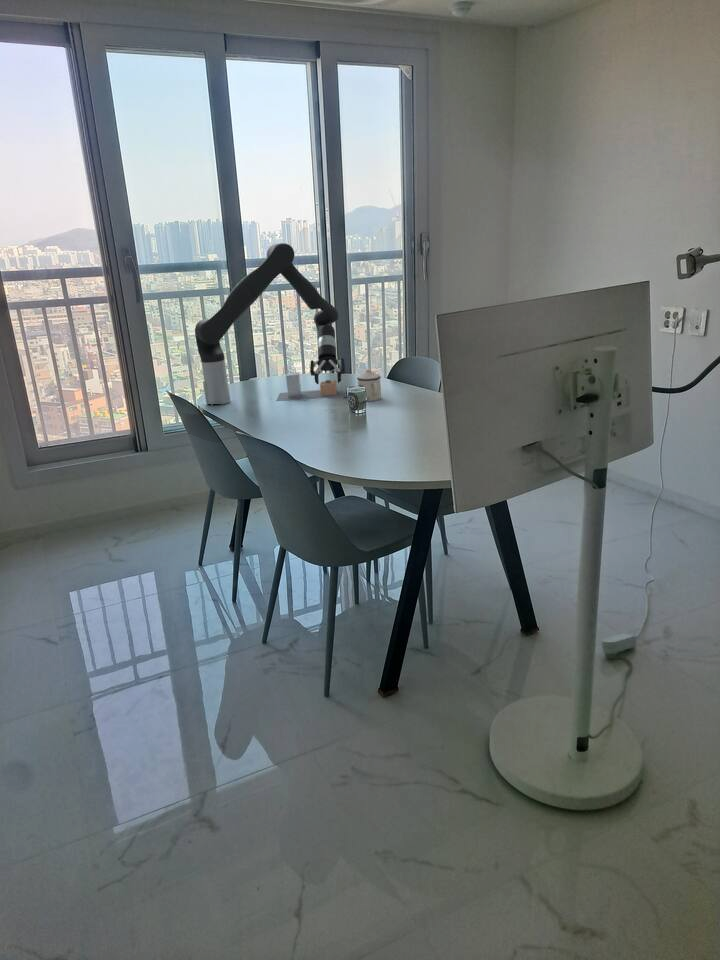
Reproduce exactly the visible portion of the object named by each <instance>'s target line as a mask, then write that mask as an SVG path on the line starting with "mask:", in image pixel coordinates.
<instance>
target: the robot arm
mask: <svg viewBox="0 0 720 960" xmlns="http://www.w3.org/2000/svg"><path fill="white" fill-rule="evenodd" d="M294 260H295V250H294V248H293V246H291V245H290V244H289V243H286V242H278V243H273V244H271V245H270V246H269V247H268V248H267V250H266V259H265V260H264V262H263V263H261V264H260V266H258V267H256V268H255V269H254V270H252V271H251V272H250V273H248V274H247V275H245V276H244V277H243V278H242V279H241V280H240V281H239V282H238V283H237V284H236V285H235V286H234V287H233V288H232V289H231V291H230V292H229V294H228V296H227V297H226V299H225V301H224V303H223V305H222V306H221V307H220V309H219V310H218V311H216V313H214V315H213V316H211V317H210V318H203V319H201V320H199V321H198V322H197V323H196V324H195V326H194V327H195V328H194V335H195V340H196V347H197V352H198V354H199V357H200V362H201V369H202V374H203V380H202V384H203V390H204V391H203V392H204V398H205V403H206V404H211V405H210V406H214V405H213V404H221V405H225V404H229V403H231V394H230V387H229V379H228V372H227V366H226V365H227V364H226V360H225V359H226V357H225V353H224V351H223V350H222V347H221V342H220V341H221V340H222V338H224V336H225V335H226V333H227V332H228V331H229V329H230V328H231V327H232V326H233V324H234V323H235V322H236V321H237V320H239V318H240V317H242V315H243V314H244V313H245V312H246V311H247V310H248V309H249V308H250V307H251V306H252V305H253V304H254V303H255V302H256V301H257V299H258V298H259V297H260V296H261V295H262V294H263V293H264V291H266V289H267V288H268V287H269V286H270V284H271V283H272V282H273V281H274V279H276V277H278V276H279V275H280V274H281V276H283V278H284V279H286V281H287V282H288V283H289V285H291V287H292V288H293V290H295V292H296V293H297V294H298V296H299V297H300V298H301V300H302V301H303V302H304V303H305V305H306V306H307V308H309V309H310V310H316V309H318V311H317V312H315V313H314V316H313V322H314V324H315V327H316V330H317V334H318V335H317V336H318V340H317V341H318V342H317V359H318V360H317V361H314V360H313V359H311V360H310V365H309V366H310V367H309V368H310V369H309V372H310V373H309V374H310V376H311V377H313V376H314V382H315V384H317V385H319V384H320V383H319V381H320V380H319V375H321V374H322V373H323V371H324V372H327V371H328V372H332V371H334V372H335V373H336V375H337V383H338V384H339V383H340V382H341V381H342V374H346V366H345V358H343V357H342V358H341V359H337V342H336V332H335V330H336V329H335V328H334V327H333V326H332V324H334V323H336V322H337V321H338V319H339V312H338V310H337V309H336V307H335V306H334V305H332V304H331V303H330V302H328V300H326V299H325V298H324V297H322V295H321V294H320V293H319V291H318V290H317V288H315V286H314V285H313V284H312V283H311V282H310V281H309V280H308V279H307V278H306V277H305V276H304V275H303V274H302V273H301V272H300V271H299V269H297V268H296V266H295V265H294V263H293V261H294ZM338 364H339V366H341V369H340V368H339V367H338ZM315 367H317V368H316V369H315Z"/></svg>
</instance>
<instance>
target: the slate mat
mask: <svg viewBox="0 0 720 960" xmlns="http://www.w3.org/2000/svg"><path fill="white" fill-rule="evenodd" d="M301 392H302V394H301V397H291V398H288V391H287V392H279V394H278V396H277V398H276V402H285V401H297V400H298V401H299V400H312V399H313V400H315V399H329V398H330V399H331V398H343V399H345V398H347V394H346V388H337V395H325V396H321V389H317V390H304V391H302V390H301Z"/></svg>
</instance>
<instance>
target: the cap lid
mask: <svg viewBox="0 0 720 960" xmlns="http://www.w3.org/2000/svg"><path fill="white" fill-rule="evenodd" d="M319 384H320V385H319V386H320V390H321V396H325V395H337V389H338V388H337V380H331V379H327V380H322V381H320V383H319Z"/></svg>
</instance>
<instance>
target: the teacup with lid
mask: <svg viewBox="0 0 720 960" xmlns="http://www.w3.org/2000/svg"><path fill="white" fill-rule="evenodd" d="M356 379H357V385H358V387H365V388H366V398H367V401H366V402H374V401H373V400H376V401H379V400H381V399H382V390H381V389H382V388H381V387H382V386H381V375H380V374H379V373H376V372H375V371H372V370H371V368H366V370H365V371H364V372H362V373H361V374H358V375H357V377H356ZM358 387H357V388H358ZM380 398H381V399H380ZM378 399H379V400H378Z"/></svg>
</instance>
